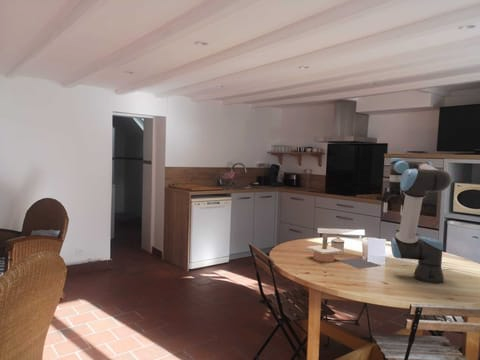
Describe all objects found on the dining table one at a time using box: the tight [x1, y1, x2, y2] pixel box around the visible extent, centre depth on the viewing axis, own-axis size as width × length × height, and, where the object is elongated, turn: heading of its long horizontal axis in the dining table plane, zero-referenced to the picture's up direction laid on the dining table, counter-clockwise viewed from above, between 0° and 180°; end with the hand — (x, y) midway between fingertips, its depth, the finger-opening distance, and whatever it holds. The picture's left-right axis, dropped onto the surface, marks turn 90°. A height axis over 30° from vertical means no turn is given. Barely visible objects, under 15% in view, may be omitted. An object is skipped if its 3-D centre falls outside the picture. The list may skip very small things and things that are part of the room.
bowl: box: [313, 250, 336, 263], centre depth 238 cm, size 13×13×6 cm
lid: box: [306, 233, 343, 254], centre depth 238 cm, size 16×16×10 cm
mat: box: [337, 257, 382, 270], centre depth 232 cm, size 19×19×1 cm
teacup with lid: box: [327, 236, 345, 255], centre depth 258 cm, size 12×9×12 cm
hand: (393, 213), depth 240 cm, fingers open, 13 cm apart
